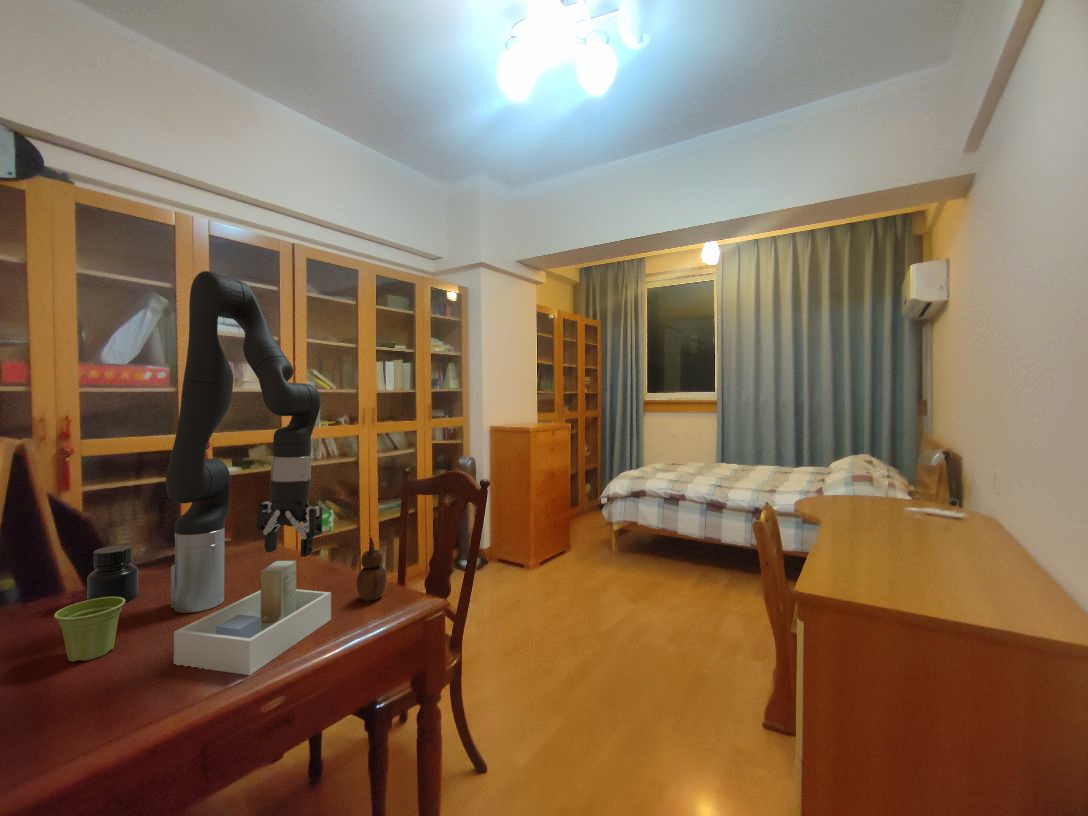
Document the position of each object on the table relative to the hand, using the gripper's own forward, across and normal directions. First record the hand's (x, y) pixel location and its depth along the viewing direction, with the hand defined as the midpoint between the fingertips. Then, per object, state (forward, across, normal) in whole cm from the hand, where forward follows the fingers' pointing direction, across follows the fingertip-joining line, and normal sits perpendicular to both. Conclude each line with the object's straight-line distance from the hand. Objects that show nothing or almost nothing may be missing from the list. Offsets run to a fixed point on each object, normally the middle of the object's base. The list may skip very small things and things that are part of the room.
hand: (288, 553), depth 100 cm
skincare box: (+14, +1, -3) cm, 14 cm away
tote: (+14, +1, -8) cm, 16 cm away
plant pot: (+16, -25, -19) cm, 35 cm away
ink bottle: (+16, -47, 0) cm, 50 cm away
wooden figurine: (+14, +10, +16) cm, 24 cm away
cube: (+14, +1, -13) cm, 19 cm away
